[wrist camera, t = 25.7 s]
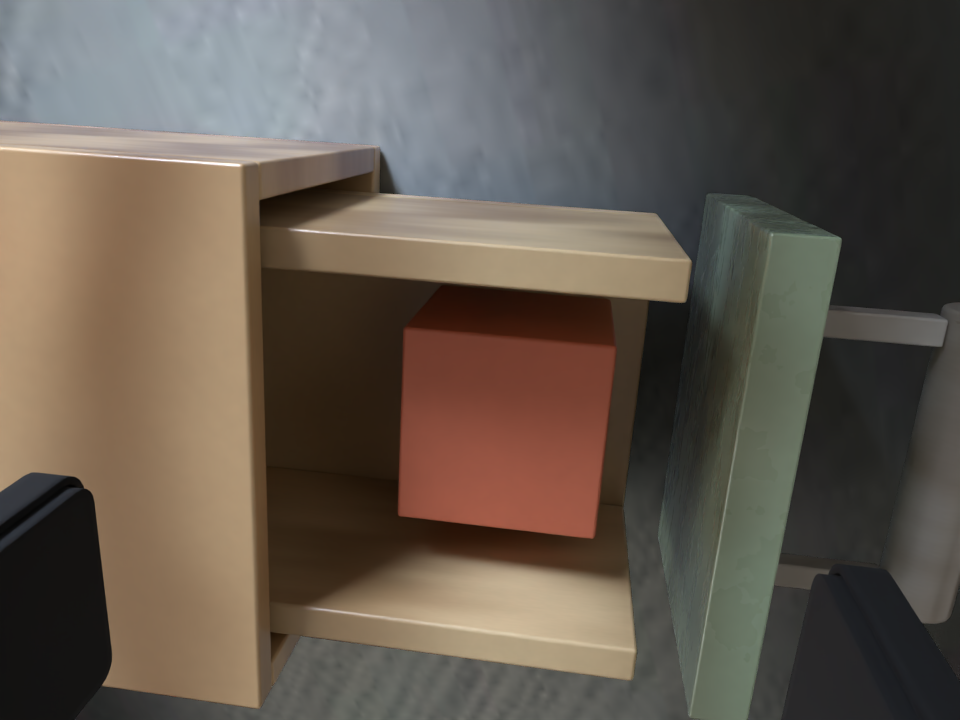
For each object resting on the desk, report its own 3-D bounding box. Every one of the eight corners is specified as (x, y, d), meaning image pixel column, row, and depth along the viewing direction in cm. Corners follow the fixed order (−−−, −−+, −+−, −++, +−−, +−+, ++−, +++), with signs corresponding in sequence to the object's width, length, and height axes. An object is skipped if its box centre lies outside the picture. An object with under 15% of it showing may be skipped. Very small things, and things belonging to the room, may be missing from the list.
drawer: (945, 209, 20) (1150, 260, 13) (864, 559, 23) (991, 762, 16) (227, 159, 22) (50, 178, 15) (239, 487, 25) (97, 636, 18)
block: (440, 284, 21) (402, 327, 17) (611, 298, 21) (617, 346, 16) (433, 440, 23) (396, 517, 18) (593, 457, 22) (595, 540, 18)
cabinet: (381, 145, 22) (243, 163, 13) (373, 506, 26) (260, 710, 17) (-113, 113, 24) (-529, 109, 15) (-58, 455, 27) (-370, 618, 18)
